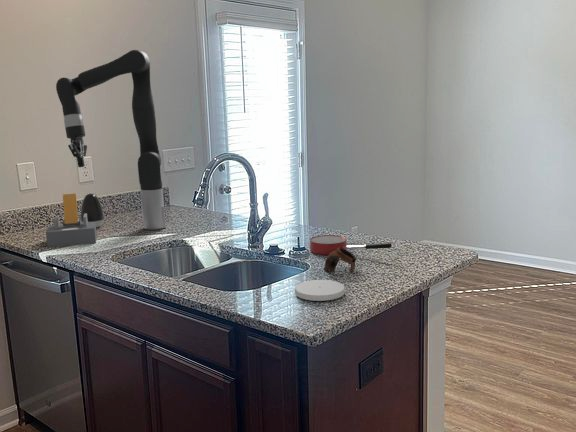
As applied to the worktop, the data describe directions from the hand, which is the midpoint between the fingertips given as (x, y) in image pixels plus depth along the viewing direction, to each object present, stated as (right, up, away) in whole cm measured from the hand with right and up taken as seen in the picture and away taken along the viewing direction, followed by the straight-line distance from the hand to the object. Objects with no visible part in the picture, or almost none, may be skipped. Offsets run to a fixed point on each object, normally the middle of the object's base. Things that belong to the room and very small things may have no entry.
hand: (81, 166), depth 256 cm
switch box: (0, -31, -11) cm, 33 cm away
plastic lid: (+96, -44, -84) cm, 135 cm away
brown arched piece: (+103, -39, -62) cm, 126 cm away
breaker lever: (0, -25, -11) cm, 27 cm away
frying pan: (+110, -34, -42) cm, 122 cm away
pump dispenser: (0, -26, +15) cm, 30 cm away
